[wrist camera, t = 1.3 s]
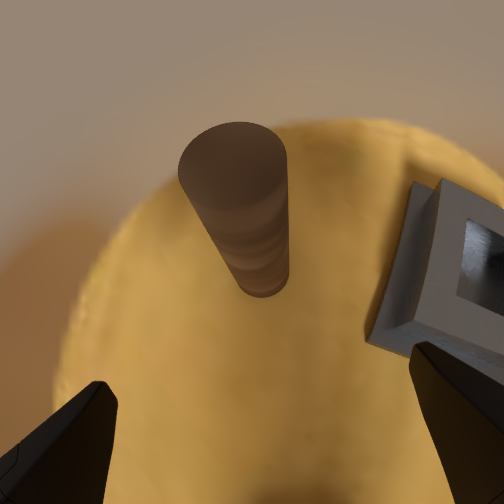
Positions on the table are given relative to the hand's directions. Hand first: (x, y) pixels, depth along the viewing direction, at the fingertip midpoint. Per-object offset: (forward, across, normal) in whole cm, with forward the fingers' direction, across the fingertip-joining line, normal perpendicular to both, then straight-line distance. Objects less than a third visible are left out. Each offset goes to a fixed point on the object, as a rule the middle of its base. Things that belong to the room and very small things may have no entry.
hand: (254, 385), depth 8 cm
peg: (+15, 0, +4) cm, 15 cm away
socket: (+12, -16, +7) cm, 21 cm away
